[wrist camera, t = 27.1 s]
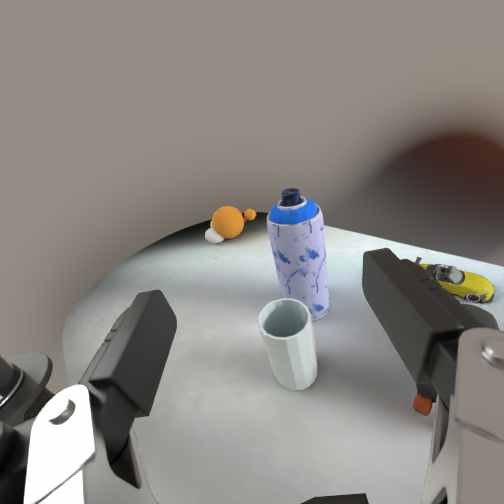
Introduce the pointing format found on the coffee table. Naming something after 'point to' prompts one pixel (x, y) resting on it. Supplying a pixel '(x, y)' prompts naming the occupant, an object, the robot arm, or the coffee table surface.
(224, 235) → the toy
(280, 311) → the plastic cup
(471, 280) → the toy car
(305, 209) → the aerosol can
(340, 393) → the coffee table surface
